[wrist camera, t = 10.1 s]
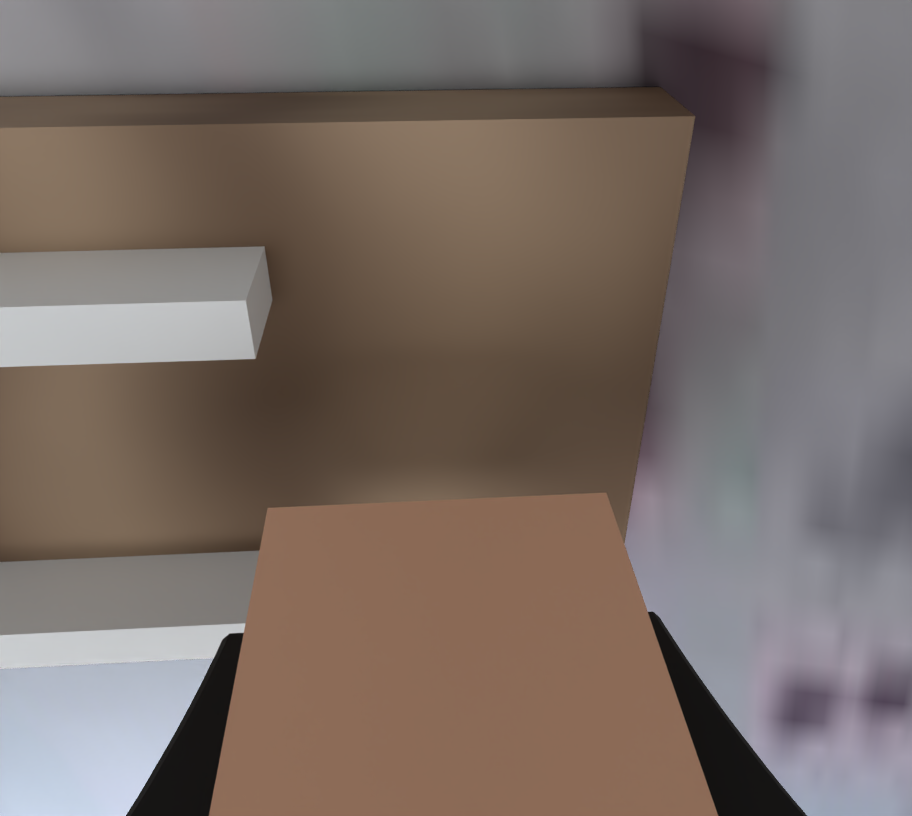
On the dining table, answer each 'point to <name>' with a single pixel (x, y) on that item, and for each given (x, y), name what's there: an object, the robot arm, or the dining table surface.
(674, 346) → the dining table surface
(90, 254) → the rails
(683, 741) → the block
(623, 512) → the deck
